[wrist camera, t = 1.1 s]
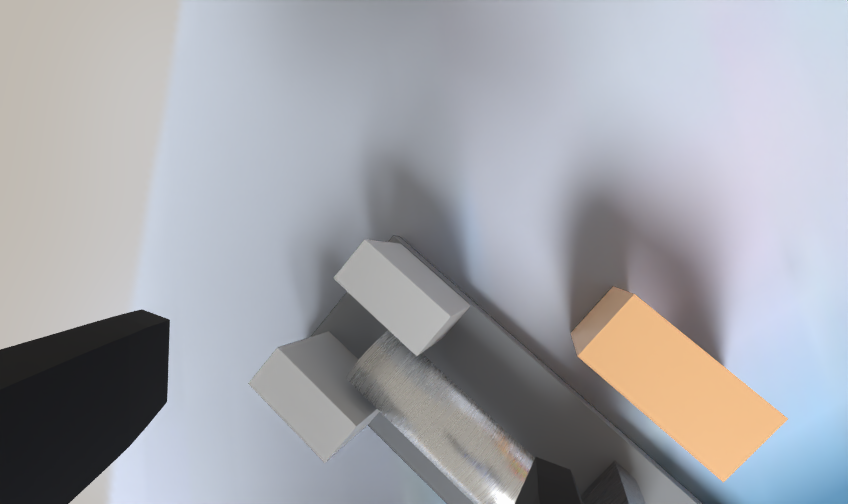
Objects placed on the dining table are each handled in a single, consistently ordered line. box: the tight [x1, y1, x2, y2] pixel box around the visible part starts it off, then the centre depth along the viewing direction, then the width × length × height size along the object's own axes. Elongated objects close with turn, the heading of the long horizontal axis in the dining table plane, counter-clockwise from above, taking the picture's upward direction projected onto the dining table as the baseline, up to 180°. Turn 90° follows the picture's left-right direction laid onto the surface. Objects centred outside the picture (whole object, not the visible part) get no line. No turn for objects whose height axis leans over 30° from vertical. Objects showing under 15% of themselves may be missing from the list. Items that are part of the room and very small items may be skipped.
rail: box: [248, 235, 703, 504], centre depth 19 cm, size 18×7×6 cm, turn 50°
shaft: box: [347, 330, 646, 504], centre depth 18 cm, size 12×5×5 cm, turn 50°
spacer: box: [571, 286, 788, 482], centre depth 18 cm, size 3×5×6 cm, turn 50°
